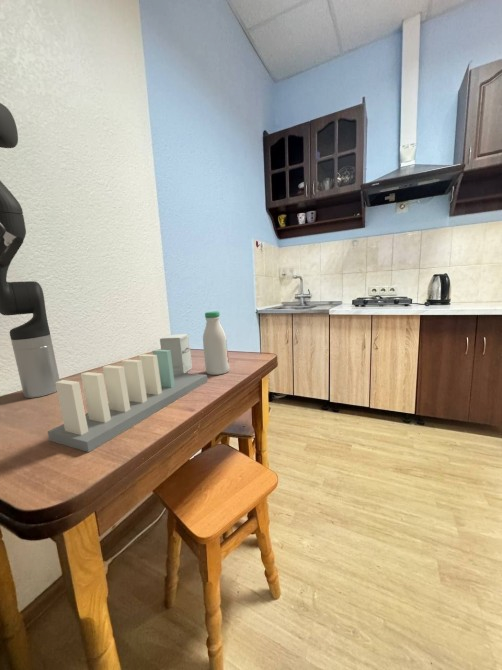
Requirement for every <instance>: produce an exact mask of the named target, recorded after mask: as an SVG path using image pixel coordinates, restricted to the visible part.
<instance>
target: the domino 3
mask: <svg viewBox="0 0 502 670" xmlns="http://www.w3.org/2000/svg"><path fill="white" fill-rule="evenodd" d="M102 372H103V373H102V374H103V376H104V381H105V387H106V393H107V399H108V403H109V407H110V409H111V410H117V411H122V412H126V411H128V410H130V403H129V397H128V391H127V384H126V378H125V372H124V367H123V366H122V365H109V364H108V365H104V366H102Z"/></svg>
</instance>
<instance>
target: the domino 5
mask: <svg viewBox="0 0 502 670" xmlns="http://www.w3.org/2000/svg"><path fill="white" fill-rule="evenodd" d="M137 358H138V359H137V360H141V361H142V368H143V375H144V381H145V388H146V393H148V394H155V395H159V394H161V393H162V389H161V382H160V374H159V367H158V360H157V355H153V354H148V353H147V354H145V353H143V354H139V355H137Z"/></svg>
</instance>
